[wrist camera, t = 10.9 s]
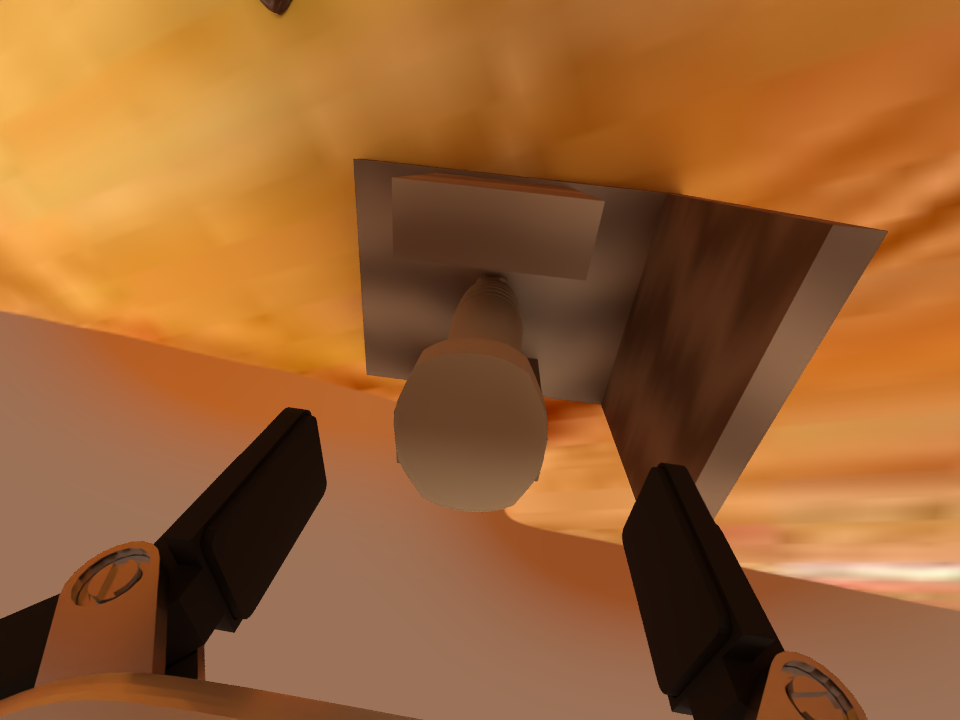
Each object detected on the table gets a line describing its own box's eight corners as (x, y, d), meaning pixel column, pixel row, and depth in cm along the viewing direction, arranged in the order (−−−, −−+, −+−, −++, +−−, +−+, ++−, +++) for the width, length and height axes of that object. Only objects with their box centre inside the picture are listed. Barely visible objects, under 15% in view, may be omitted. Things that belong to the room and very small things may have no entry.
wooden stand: (362, 159, 23) (186, 152, 11) (682, 194, 22) (887, 231, 10) (373, 365, 30) (275, 504, 18) (615, 396, 30) (688, 561, 17)
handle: (456, 336, 26) (401, 505, 13) (457, 245, 23) (386, 347, 10) (523, 340, 26) (534, 517, 13) (532, 249, 23) (559, 359, 10)
